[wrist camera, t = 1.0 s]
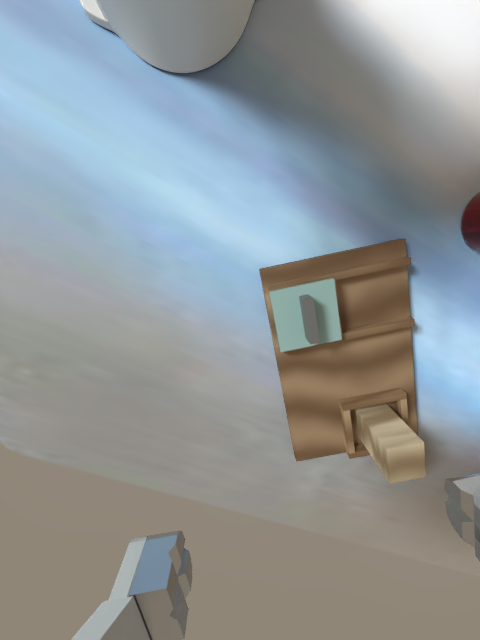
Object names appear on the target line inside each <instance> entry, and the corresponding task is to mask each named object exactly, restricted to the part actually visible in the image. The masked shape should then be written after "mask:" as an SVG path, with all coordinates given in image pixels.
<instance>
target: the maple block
mask: <svg viewBox="0 0 480 640" xmlns="http://www.w3.org/2000/svg"><path fill="white" fill-rule="evenodd" d="M356 417H357V426H358V434H359V438H360V440H361V441H362V443H363V444H364V446H365V447H366V449H367V450H368V452H369V453H370V455H371V456H372V458H373V459H374V461H375V462H376V464H377V465H378V467H379V468H380V470H381V471H382V473H383V474H384V476H385V477H386V479H387V480H388V482H389V483H390V484H391V483H397V482H402V481H407V480H412V479H418V478H423V477H426V467H425V450H424V442H423V441H422V440H421V439H420V438H419V437H418V436H417V435H416V434H415V433H414V432H413V430H412V429H411V428H410V427H409V426H408V425H407V424H406V423H405V422H404V421H403V420H402V419H401V418H400V417H399V416H398V415H397V414H396V413H395V412H394V411H393V410H392V409H391V408H390V407H389V406H388V405H387V404H386V403H383V404H378V405H373V406H368V407H363V408H357V409H356Z"/></svg>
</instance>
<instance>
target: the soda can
mask: <svg viewBox="0 0 480 640" xmlns="http://www.w3.org/2000/svg"><path fill="white" fill-rule="evenodd" d="M461 231H462V235H463V238H464V239H465V241H466V243H467V244H468V245H469V246H470V247H472V248H474V249H475V250H478V251H480V193H478V194H477V195H476V196H474V198H473V199H472V200H471V201H470V202H469V203H468V205H467V207H466V208H465V211H464V213H463V216H462V220H461Z"/></svg>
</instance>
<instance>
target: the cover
mask: <svg viewBox="0 0 480 640" xmlns="http://www.w3.org/2000/svg"><path fill="white" fill-rule="evenodd" d="M269 294H270V299H271V305H272V310H273V315H274V321H275V326H276V331H277V337H278V342H279V348H280V352H285V351H290V350H295V349H300V348H304V347H309V346H314V345H319V344H324V343H329V342H334V341H339V340H342V336H341V328H340V320H339V313H338V305H337V297H336V289H335V281H334V278H331V279H326V280H321V281H316V282H312V283H307V284H302V285H297V286H293V287H288V288H283V289H279V290H274V291H269Z"/></svg>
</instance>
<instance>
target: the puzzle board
mask: <svg viewBox="0 0 480 640" xmlns="http://www.w3.org/2000/svg"><path fill="white" fill-rule="evenodd" d="M409 264H411V257H406V241H405V239H397V240H393V241H388V242H383V243H379V244H374V245H369V246H365V247H360V248H355V249H351V250H346V251H341V252H337V253H332V254H327V255H323V256H318V257H313V258H309V259H304V260H299V261H295V262H290V263H285V264H281V265H276V266H271V267H267V268H262V269H259V271H260V276H261V281H262V286H263V292H264V297H265V302H266V307H267V313H268V318H269V323H270V328H271V334H272V339H273V344H274V349H275V355H276V360H277V365H278V370H279V376H280V381H281V386H282V391H283V397H284V402H285V407H286V412H287V418H288V423H289V428H290V433H291V439H292V444H293V449H294V454H295V458H296V461H302V460H307V459H312V458H317V457H322V456H327V455H332V454H338V453H343V452H346V453H347V454H348V456H349V458H350V459H351V458H356V457H361V456H367V455H370V453H369V452H368V450H367V449H366V447H365V446H364V444H363V443H362V441H361V440H360V438H359V434H358V426H357V417H356V409H357V408H363V407H368V406H373V405H378V404H383V403H386V404H387V405H388V406H389V407H390V408H391V409H392V410H393V411H394V412H395V413H396V414H397V415H398V416H399V417H400V418H401V419H402V420H403V421H404V422H405V423H406V424H407V425H408V426H409V427H410V428H411V429H412V430H413V432H414V433H415V434H416V435H417V436H418V433H417V417H416V401H415V385H414V369H413V353H412V337H411V326H415V321H414V319H413V318H410V305H409V289H408V273H407V265H409ZM331 278H334V281H335V289H336V297H337V305H338V313H339V320H340V328H341V336H342V340H339V341H334V342H329V343H324V344H319V345H314V346H309V347H304V348H300V349H295V350H290V351H285V352H280V348H279V342H278V337H277V331H276V326H275V321H274V315H273V310H272V305H271V299H270V294H269V291H274V290H279V289H283V288H288V287H293V286H297V285H302V284H307V283H312V282H316V281H321V280H326V279H331Z"/></svg>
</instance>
